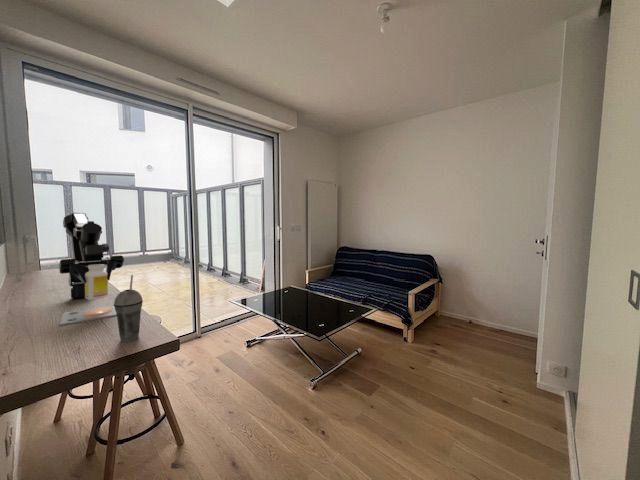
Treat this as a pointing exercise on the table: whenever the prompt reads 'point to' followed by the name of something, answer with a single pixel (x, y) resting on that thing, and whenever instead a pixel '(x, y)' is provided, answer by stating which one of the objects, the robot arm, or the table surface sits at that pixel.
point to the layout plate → (87, 315)
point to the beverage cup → (128, 313)
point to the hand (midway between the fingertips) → (97, 281)
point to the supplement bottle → (96, 282)
